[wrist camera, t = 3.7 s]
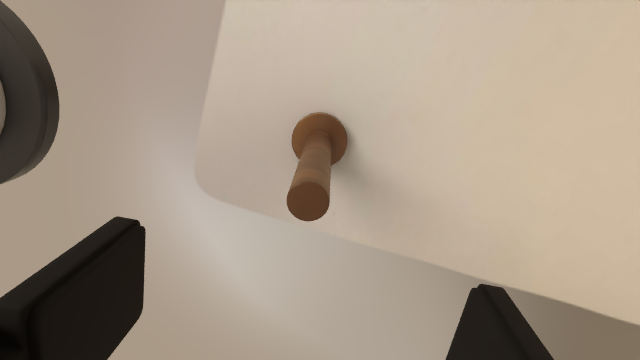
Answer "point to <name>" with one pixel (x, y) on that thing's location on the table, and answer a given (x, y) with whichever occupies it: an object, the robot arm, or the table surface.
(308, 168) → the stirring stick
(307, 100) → the table surface
